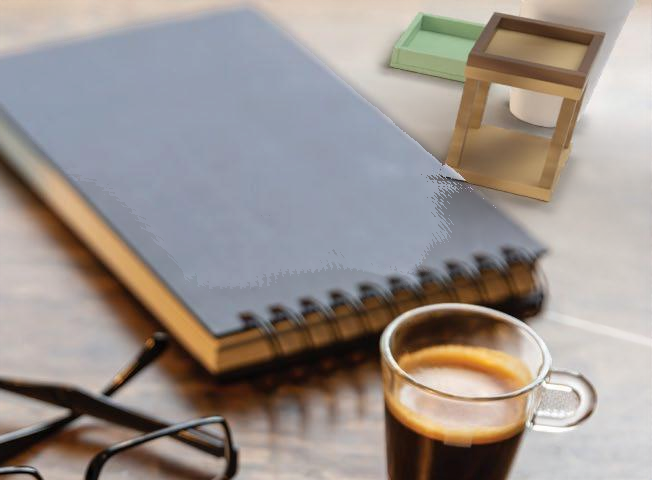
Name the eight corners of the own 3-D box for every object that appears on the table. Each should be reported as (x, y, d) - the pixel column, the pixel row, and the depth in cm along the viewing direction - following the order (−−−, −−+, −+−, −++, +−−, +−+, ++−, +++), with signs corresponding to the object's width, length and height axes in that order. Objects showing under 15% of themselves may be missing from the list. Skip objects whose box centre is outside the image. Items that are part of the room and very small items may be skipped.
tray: (507, 48, 129) (512, 29, 128) (485, 86, 123) (490, 66, 122) (415, 30, 133) (419, 11, 131) (389, 66, 126) (393, 47, 125)
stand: (569, 153, 114) (606, 32, 106) (549, 202, 108) (586, 77, 100) (465, 130, 117) (494, 11, 110) (440, 176, 111) (468, 53, 104)
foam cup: (470, 107, 120) (504, -33, 112) (529, 78, 125) (566, -59, 116) (561, 146, 115) (604, 2, 106) (619, 114, 119) (664, -27, 110)
